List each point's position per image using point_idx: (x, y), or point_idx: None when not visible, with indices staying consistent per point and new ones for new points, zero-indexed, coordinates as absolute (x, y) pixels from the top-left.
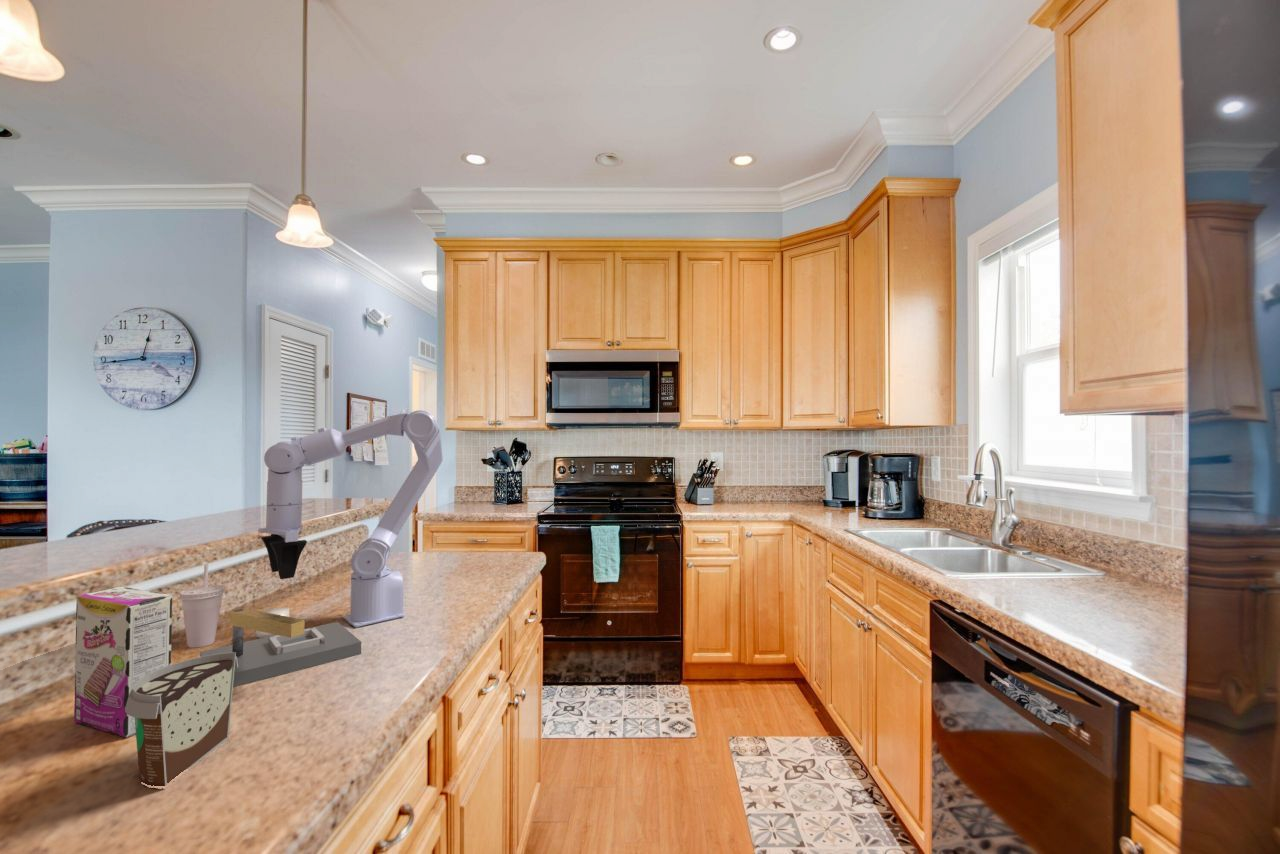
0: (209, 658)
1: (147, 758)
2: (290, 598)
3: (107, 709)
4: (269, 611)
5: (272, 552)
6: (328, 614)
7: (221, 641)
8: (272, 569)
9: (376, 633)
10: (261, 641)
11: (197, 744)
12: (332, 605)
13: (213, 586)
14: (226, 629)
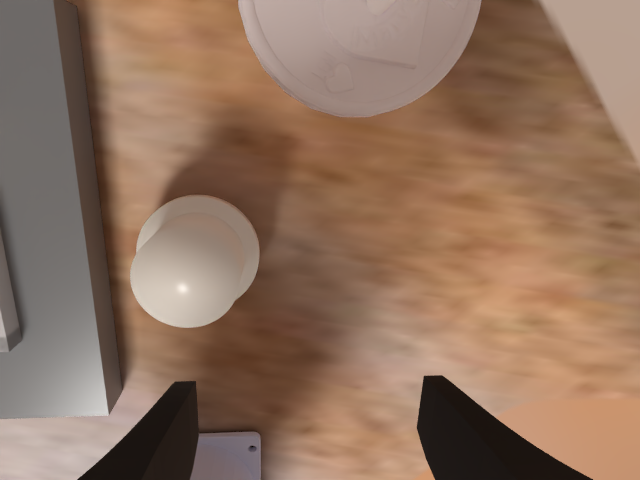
0: None
1: None
2: (633, 357)
3: None
4: (191, 261)
5: (490, 476)
6: (344, 407)
7: (301, 106)
8: (430, 384)
9: (35, 464)
10: (35, 190)
11: None
12: None
13: (375, 50)
14: (436, 141)
